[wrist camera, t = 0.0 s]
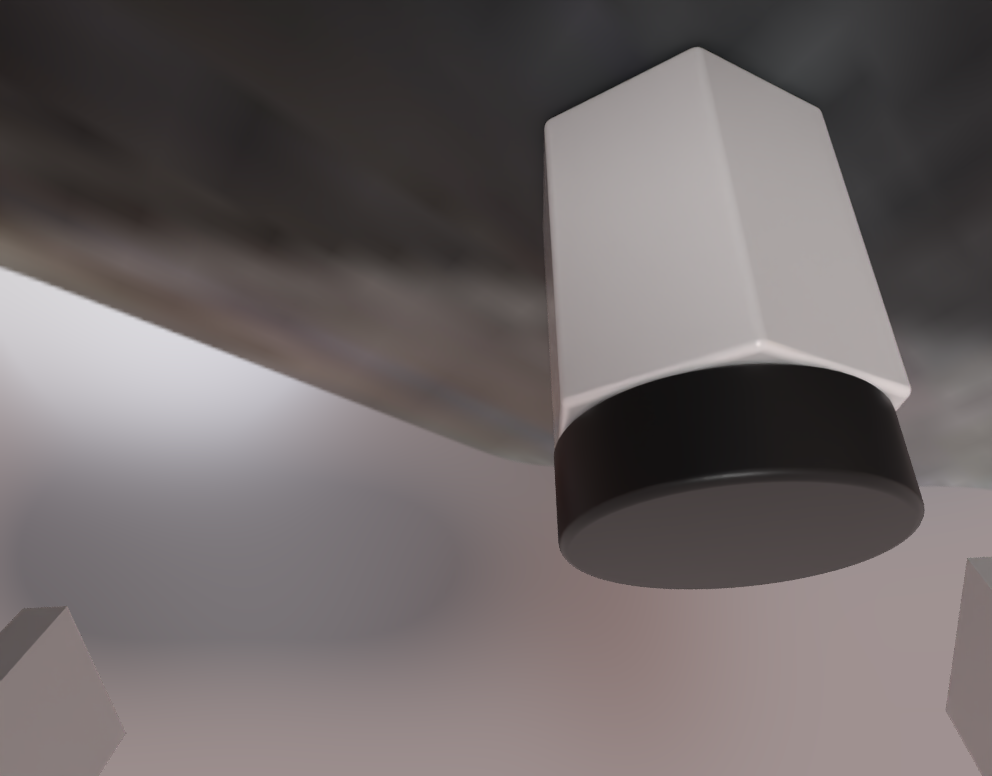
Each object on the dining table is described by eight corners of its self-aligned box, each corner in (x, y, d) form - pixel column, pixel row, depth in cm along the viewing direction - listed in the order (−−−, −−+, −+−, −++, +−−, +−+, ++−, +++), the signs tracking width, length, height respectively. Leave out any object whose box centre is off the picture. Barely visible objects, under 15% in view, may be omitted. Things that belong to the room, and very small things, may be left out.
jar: (597, 286, 29) (627, 608, 23) (477, 146, 23) (476, 534, 17) (848, 192, 24) (966, 556, 18) (782, -9, 18) (925, 434, 12)
